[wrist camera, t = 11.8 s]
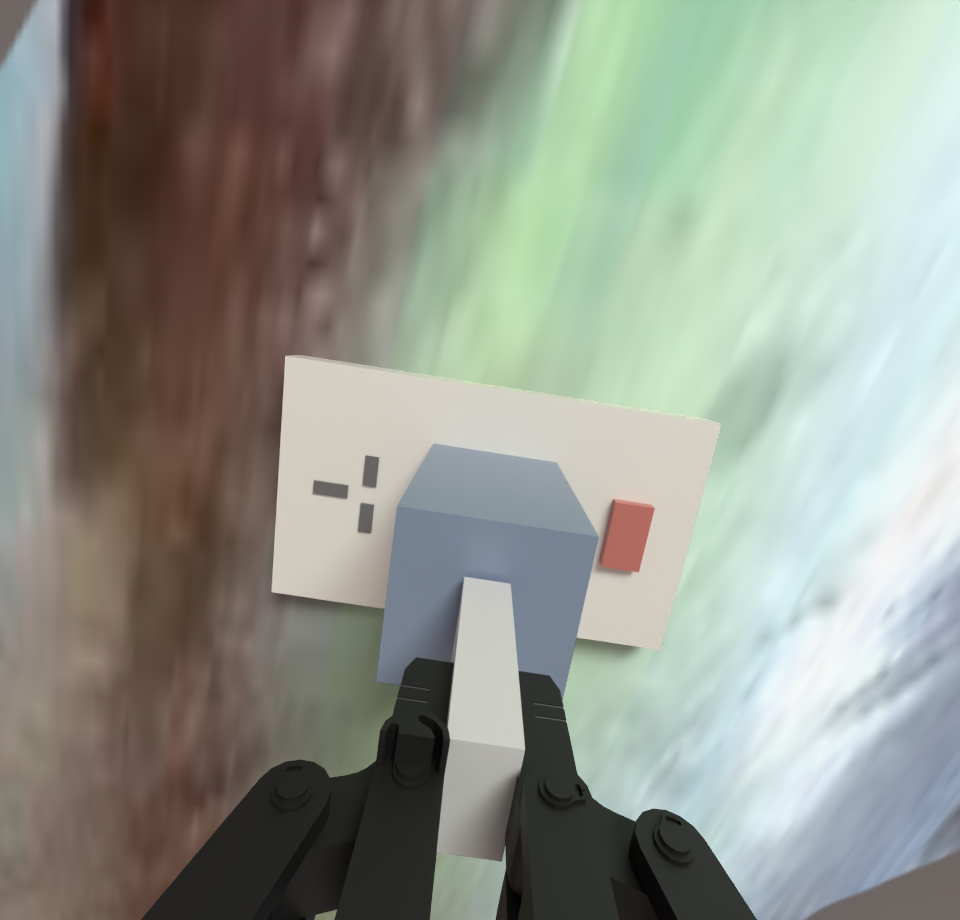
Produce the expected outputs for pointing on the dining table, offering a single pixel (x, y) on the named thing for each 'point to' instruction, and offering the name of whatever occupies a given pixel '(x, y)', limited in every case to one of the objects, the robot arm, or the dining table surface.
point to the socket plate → (492, 428)
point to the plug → (487, 558)
